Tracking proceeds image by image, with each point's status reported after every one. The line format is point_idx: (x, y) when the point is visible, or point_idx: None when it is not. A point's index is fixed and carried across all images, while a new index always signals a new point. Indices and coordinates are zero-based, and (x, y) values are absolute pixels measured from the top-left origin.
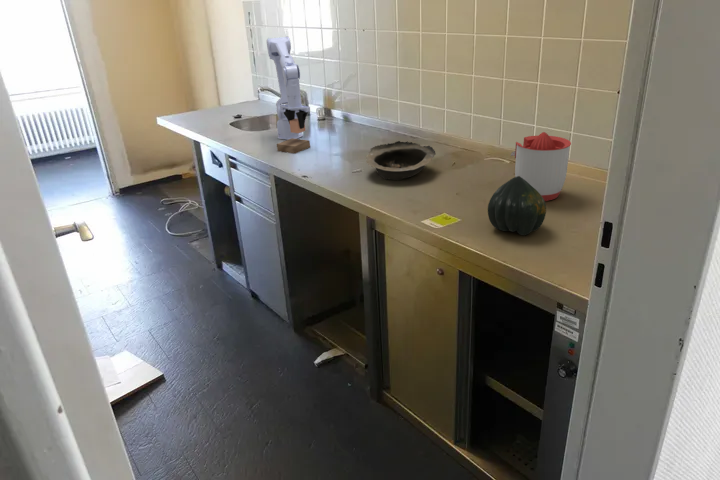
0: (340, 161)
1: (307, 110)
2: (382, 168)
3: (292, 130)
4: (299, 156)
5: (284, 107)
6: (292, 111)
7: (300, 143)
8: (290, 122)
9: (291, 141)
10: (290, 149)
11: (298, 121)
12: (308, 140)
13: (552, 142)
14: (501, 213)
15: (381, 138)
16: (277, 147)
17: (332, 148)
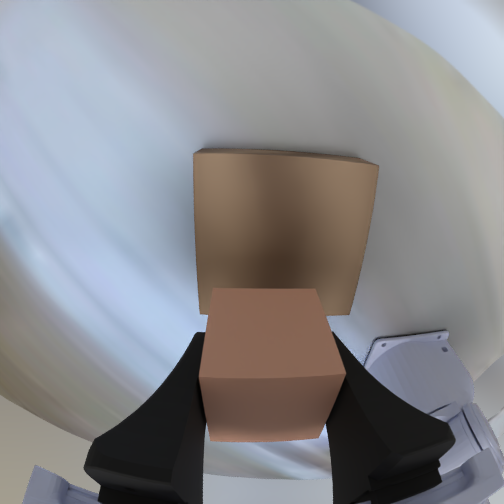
0: None
1: (30, 482)
2: None
3: (293, 300)
4: (135, 114)
5: (455, 501)
6: (347, 492)
7: (205, 237)
8: (326, 359)
9: (308, 255)
10: (241, 150)
11: (201, 385)
12: (205, 311)
13: None
14: None
15: (74, 414)
16: (365, 161)
17: (91, 305)
